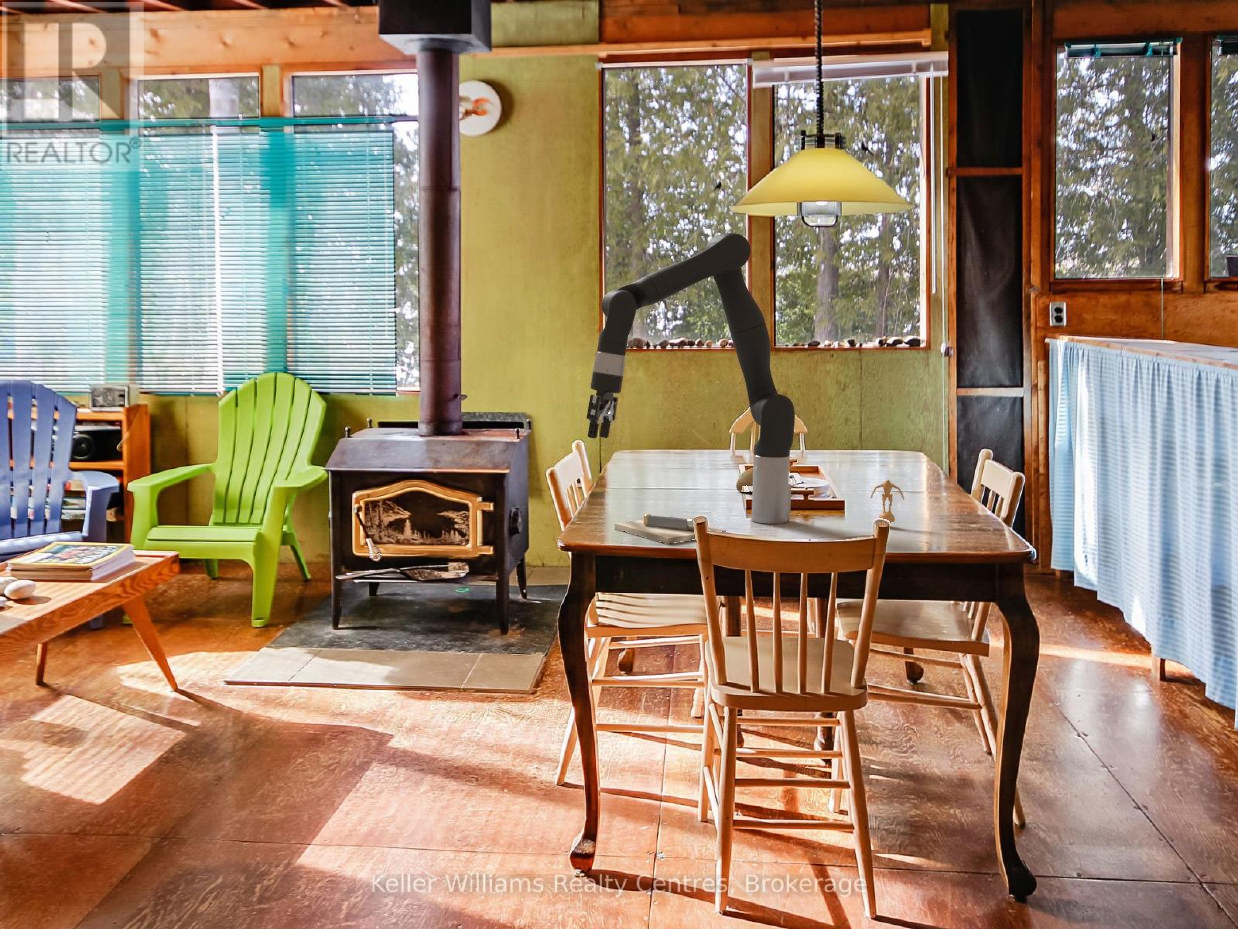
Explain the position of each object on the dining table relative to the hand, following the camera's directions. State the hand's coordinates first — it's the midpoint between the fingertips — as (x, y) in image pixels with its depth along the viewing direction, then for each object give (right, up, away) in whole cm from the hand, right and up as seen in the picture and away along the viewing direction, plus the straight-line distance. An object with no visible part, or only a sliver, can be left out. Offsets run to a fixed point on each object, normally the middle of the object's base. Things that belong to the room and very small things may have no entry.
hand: (598, 437), depth 272 cm
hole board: (+17, -23, -1) cm, 29 cm away
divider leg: (+18, -22, -3) cm, 28 cm away
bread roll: (+48, -15, +62) cm, 80 cm away
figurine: (+74, -23, +12) cm, 78 cm away
